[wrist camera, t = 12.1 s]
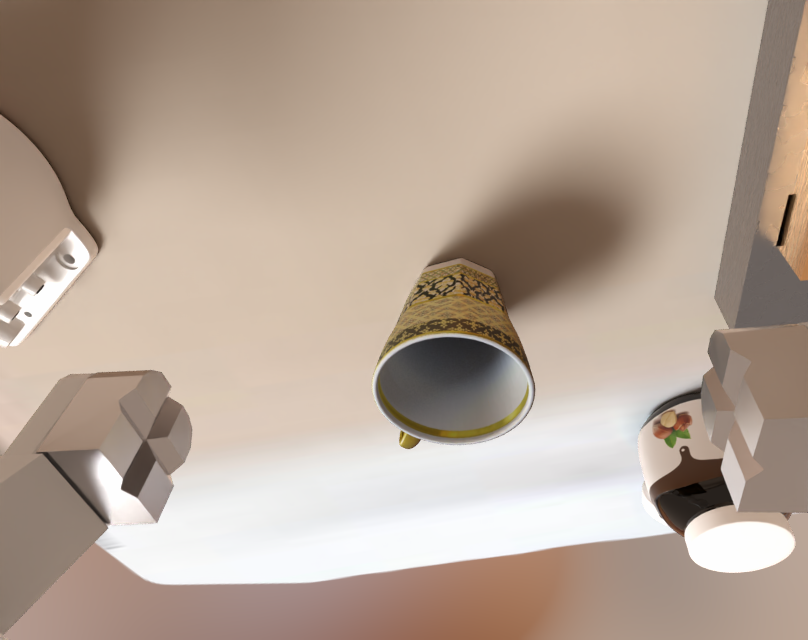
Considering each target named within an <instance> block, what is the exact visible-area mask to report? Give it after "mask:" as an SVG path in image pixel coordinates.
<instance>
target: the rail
mask: <svg viewBox="0 0 808 640" xmlns="http://www.w3.org/2000/svg"><path fill="white" fill-rule="evenodd" d="M807 137H808V0H769V2H768V7H767V12H766V18H765V23H764V29H763V34H762V40H761V45H760V51H759V56H758V62H757V67H756V73H755V78H754V84H753V89H752V95H751V100H750V106H749V111H748V117H747V122H746V128H745V133H744V138H743V144H742V149H741V155H740V160H739V166H738V171H737V177H736V182H735V188H734V193H733V199H732V204H731V210H730V215H729V221H728V226H727V232H726V237H725V243H724V248H723V254H722V259H721V264H720V270H719V275H718V281H717V286H716V292H715V297H714V298H715V300H716V302H717V304H718V306H719V308H720V310H721V312H722V315H723V317H724V319H725V321H726V323H727V325H728V327H729V329H735V328H747V327H760V326H773V325H786V324H798V323H805V322H808V280H803V281H800V279H799V278H798V276H797V275H796V274H795V272H794V271H793V269H792V268H791V266H790V265H789V263H788V262H787V261H786V259H785V258H784V256H783V255H782V253H781V252H780V246H781V242H782V238H783V234H784V230H783V229H782V227H781V223H782V219H783V215H784V211H785V207H786V203H787V199H788V195H790V194H794V190H795V186H796V182H797V177H798V173H799V169H800V165H801V161H802V157H803V153H804V149H805V145H806V141H807Z"/></svg>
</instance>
